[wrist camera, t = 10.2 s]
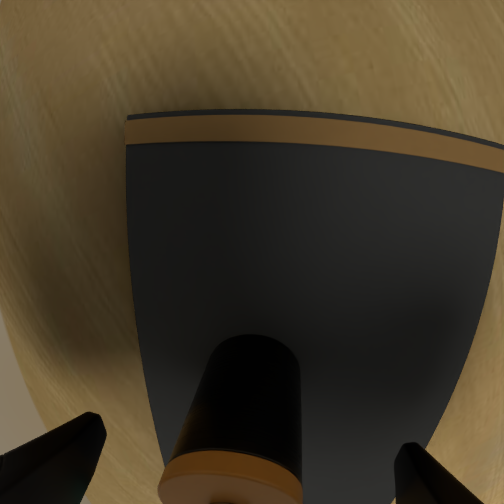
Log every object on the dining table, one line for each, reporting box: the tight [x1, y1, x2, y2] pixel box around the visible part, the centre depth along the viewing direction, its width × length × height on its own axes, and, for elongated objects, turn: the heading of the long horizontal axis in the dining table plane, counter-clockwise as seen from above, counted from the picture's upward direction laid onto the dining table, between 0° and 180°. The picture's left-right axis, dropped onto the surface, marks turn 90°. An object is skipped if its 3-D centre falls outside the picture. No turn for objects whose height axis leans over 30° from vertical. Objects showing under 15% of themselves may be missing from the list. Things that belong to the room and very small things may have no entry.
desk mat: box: [124, 109, 504, 504], centre depth 12 cm, size 13×20×1 cm, turn 178°
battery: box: [158, 334, 303, 504], centre depth 8 cm, size 4×3×6 cm
